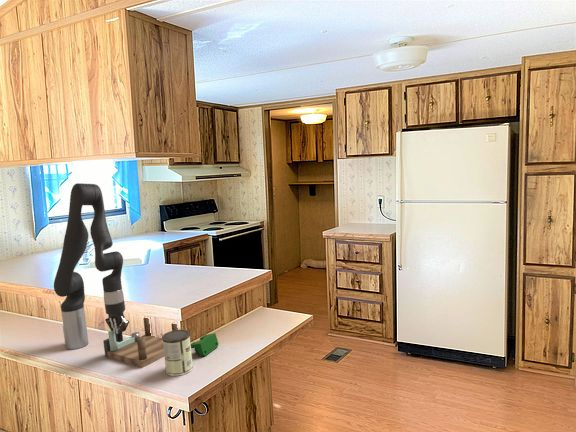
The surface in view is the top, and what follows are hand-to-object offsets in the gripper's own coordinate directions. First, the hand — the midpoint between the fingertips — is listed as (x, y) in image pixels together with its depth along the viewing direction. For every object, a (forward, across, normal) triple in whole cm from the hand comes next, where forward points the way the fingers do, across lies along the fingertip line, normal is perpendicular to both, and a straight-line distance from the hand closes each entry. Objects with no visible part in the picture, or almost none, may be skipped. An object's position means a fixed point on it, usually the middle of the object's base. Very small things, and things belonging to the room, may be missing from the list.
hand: (119, 341), depth 184 cm
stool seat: (+7, -5, -9) cm, 12 cm away
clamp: (+8, -28, -20) cm, 35 cm away
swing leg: (+4, +4, -5) cm, 8 cm away
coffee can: (+8, -31, -3) cm, 32 cm away
